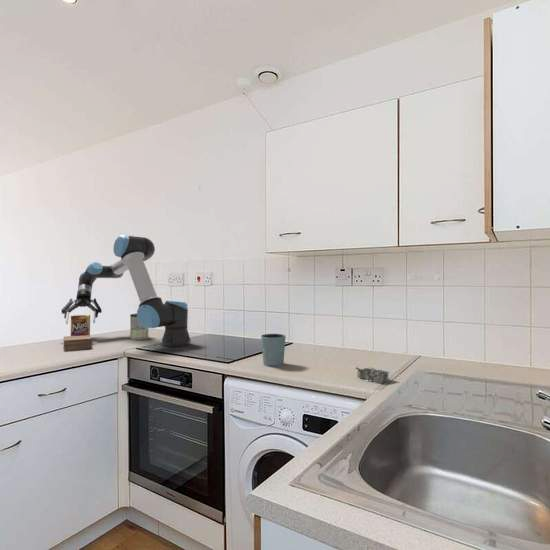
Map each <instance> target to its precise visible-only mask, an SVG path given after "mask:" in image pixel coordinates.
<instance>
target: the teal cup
mask: <svg viewBox="0 0 550 550" xmlns="http://www.w3.org/2000/svg"><path fill="white" fill-rule="evenodd" d="M260 337H261V338H260V339H261V349H262V365H263V366H265V367H272V368H274V367H282V366H284V364H285V349H286V346H285V345H286V335H285V334H283V333H282V334H281V333H265V334H261V336H260Z"/></svg>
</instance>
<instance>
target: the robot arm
mask: <svg viewBox="0 0 550 550" xmlns="http://www.w3.org/2000/svg"><path fill="white" fill-rule="evenodd" d="M155 250H156V249H155V245H154V243H153V241H152V240H151V239H149V238H146V237H144V236H134V235H128V234H125V235H122V234H121V235H119V236H118V237H117V238H116V239H115V241H114V244H113V253H114V255H115V257H118V258H120V259H119V260H118V261H116V262H115V263H113V264H111V265H102V264H101V262H97V261H92V262H90V263H89V264H88V265H87V267H86V269H85V271H83V272H81V274H80V275H79V278H78V287H77V291H76V298H75V299H73V298H70V299H69V301H68V302H67V303H66V304H65V306H63V308H62V309H61V314H63V318H64V319H65V324H66V325H68V323H69V318H70V313H72V312H73V311H75V309H77V308H82V307H87V308H89V309H90V310H91V311H92V312H93V319H92V321H93V322H92V323H93V324H95V323H96V318H98V317H99V316H98V315H99V314H100V313H102V310H103V309H102V308H101V306H100V305H99V303H98V302H97V298H96V297H95V298H93V299H92V292H93V284H94V282H95V281H96V280H97V279H121V278H122V277H123V276H124V273H125V272H126V271H129V275H130V277H131V280H132V282H133V286H134V288H135V292H136V294H137V296H138V299H139V301H140V303H139V304H138V308H137V311H136V314H137V319H138V321H139V323H140V324H141V325H142V326H143V327H145V328H148V329H156V328H162V327H164V332H163V336H162V339H161V346H163V347H170V348H171V347H184V346H185V347H186V346H189V345H191V342H192V341H191V337H190V334H189V330H188V318H189V317H188V311H189V309H188V304H187V302H185V301H175V300H165V302H163V300H162V297H159V296H158V295H157V292H156V291H155V287H154V285H153V283H152V282H153V281H152V279H151V277H150V274H149V272H148V269H147V266H146V264H145V261H147V260H149V259H151V258H152V257H153V256H154V254H155Z"/></svg>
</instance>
